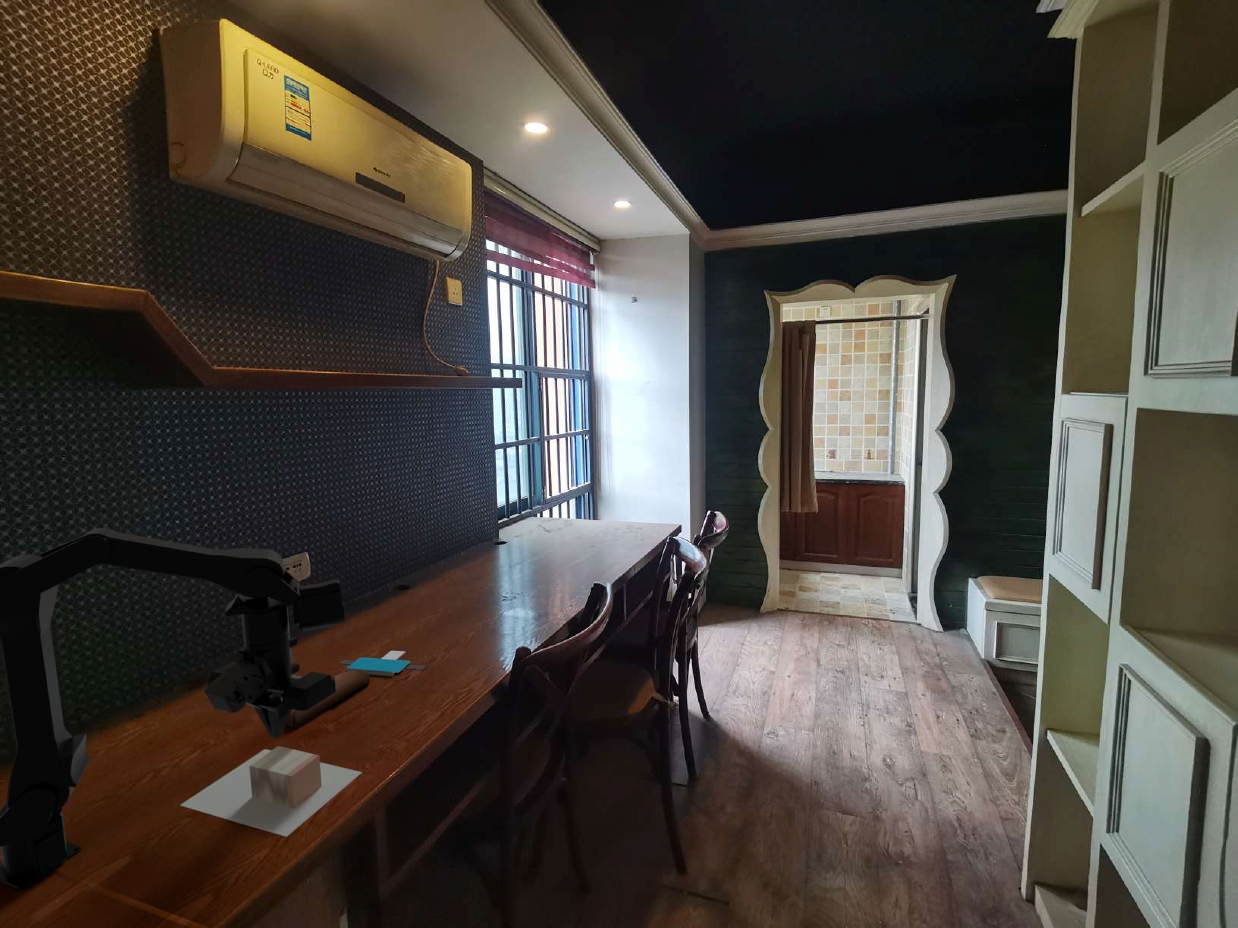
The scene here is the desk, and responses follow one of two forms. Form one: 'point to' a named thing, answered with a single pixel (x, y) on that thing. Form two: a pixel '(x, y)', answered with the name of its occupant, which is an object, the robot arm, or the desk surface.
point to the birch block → (285, 776)
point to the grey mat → (238, 805)
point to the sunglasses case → (331, 696)
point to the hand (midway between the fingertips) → (276, 737)
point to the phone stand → (381, 664)
